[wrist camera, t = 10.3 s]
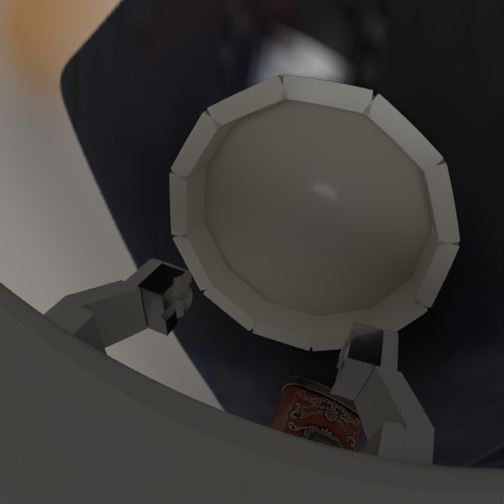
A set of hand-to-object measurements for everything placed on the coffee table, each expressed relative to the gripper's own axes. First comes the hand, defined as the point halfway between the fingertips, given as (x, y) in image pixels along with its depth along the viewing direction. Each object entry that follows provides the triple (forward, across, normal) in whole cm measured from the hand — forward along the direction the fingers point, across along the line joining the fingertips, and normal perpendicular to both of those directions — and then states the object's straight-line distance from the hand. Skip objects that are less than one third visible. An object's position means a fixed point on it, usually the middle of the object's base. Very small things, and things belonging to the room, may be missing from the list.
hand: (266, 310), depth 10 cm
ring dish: (+8, 0, 0) cm, 8 cm away
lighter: (+8, -5, +16) cm, 19 cm away
